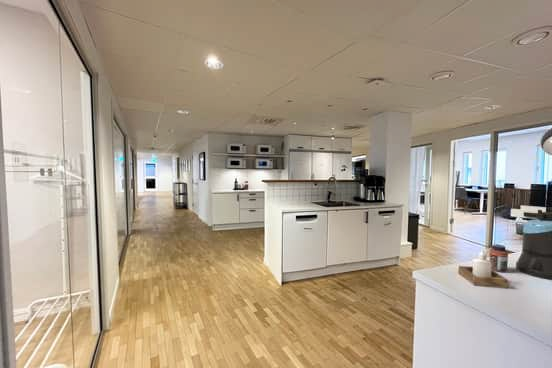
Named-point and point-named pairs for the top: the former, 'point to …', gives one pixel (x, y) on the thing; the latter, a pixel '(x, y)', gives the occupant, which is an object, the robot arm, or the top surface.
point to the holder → (483, 278)
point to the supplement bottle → (499, 258)
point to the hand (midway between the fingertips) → (515, 210)
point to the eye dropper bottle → (482, 266)
